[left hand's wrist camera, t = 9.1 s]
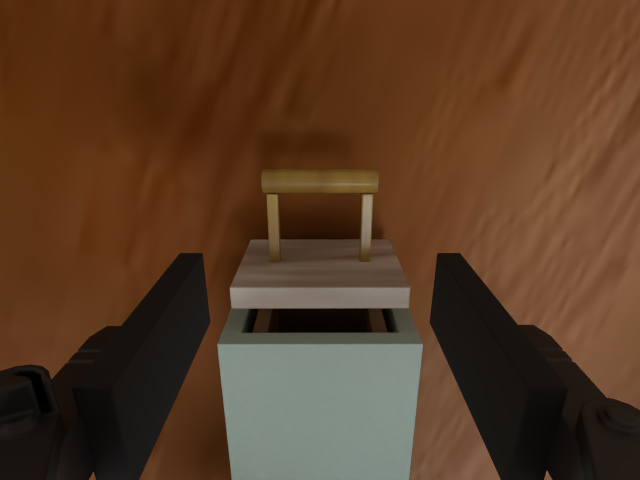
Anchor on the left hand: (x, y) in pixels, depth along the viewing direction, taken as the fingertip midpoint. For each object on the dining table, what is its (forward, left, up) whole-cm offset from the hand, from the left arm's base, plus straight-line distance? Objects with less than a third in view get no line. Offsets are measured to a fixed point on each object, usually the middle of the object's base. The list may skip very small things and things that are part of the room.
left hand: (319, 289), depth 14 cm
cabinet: (+15, +5, -13) cm, 20 cm away
